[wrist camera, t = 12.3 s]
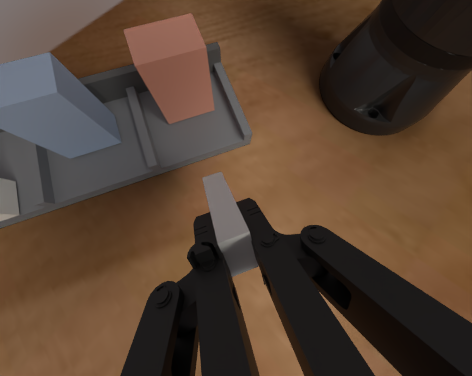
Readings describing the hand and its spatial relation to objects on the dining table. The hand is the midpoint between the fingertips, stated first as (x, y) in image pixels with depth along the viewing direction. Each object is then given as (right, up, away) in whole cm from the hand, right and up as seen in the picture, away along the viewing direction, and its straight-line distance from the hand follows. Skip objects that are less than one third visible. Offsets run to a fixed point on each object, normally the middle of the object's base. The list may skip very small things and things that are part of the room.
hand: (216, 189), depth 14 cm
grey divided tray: (-16, +5, +9) cm, 19 cm away
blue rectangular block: (-16, +6, +8) cm, 19 cm away
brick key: (-5, +11, +9) cm, 15 cm away
